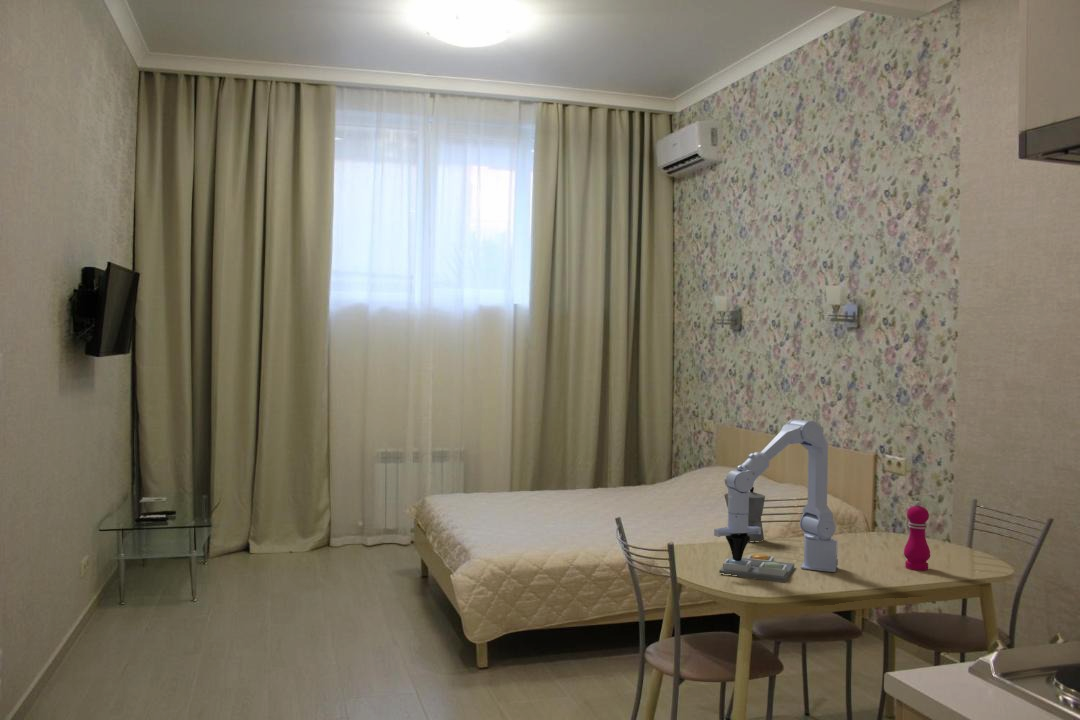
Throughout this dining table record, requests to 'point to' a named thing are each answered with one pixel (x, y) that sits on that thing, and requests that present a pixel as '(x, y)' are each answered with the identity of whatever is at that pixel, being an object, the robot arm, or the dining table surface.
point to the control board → (758, 569)
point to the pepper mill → (917, 539)
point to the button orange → (760, 556)
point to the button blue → (737, 561)
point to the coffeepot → (755, 514)
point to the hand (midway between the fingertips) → (737, 560)
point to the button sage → (773, 565)
